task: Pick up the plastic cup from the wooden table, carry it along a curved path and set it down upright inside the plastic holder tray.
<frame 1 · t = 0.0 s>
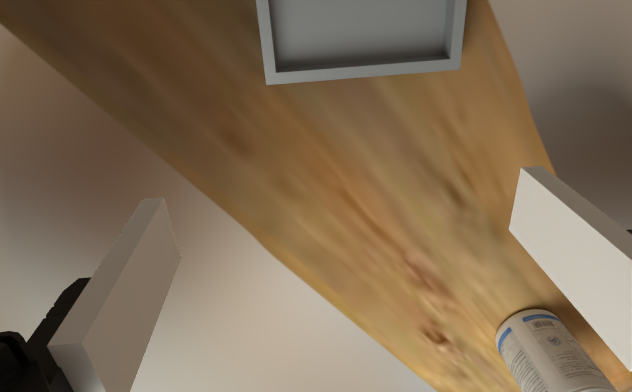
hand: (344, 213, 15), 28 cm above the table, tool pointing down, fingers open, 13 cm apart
supplement tub: (524, 328, 60), on the table
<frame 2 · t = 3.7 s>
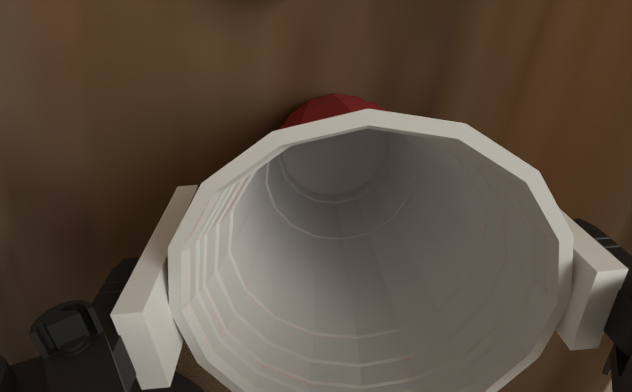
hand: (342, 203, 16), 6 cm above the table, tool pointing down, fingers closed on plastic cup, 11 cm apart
plastic cup: (329, 145, 21), on the table, touching gripper
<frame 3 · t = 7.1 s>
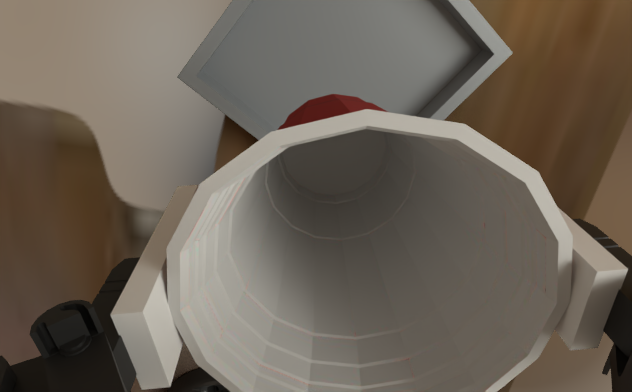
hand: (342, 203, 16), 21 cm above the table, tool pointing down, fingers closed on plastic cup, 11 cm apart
plastic cup: (328, 145, 21), point 14 cm above the table, touching gripper
holder tray: (342, 58, 33), on the table
when the fingers open (8 cm above the table, at t = 10.6 s): plastic cup drops 1 cm, resting on holder tray.
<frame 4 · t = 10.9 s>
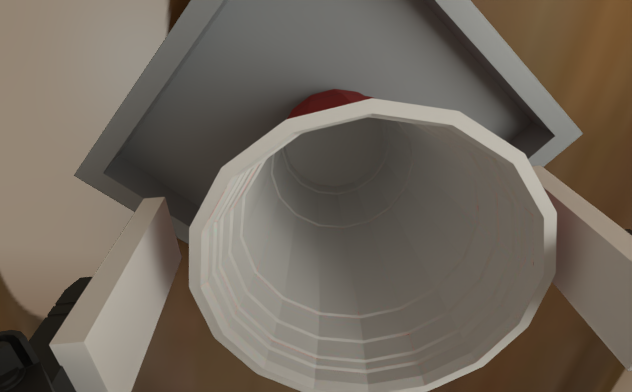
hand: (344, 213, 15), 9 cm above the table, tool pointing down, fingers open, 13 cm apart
plastic cup: (330, 138, 22), point 1 cm above the table, touching holder tray
holder tray: (326, 133, 23), on the table
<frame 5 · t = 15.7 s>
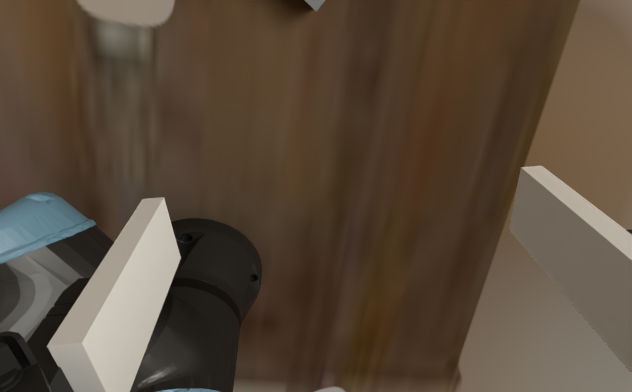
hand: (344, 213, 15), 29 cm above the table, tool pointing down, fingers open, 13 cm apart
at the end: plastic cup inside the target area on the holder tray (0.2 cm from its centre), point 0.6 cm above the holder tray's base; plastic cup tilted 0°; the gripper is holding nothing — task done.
